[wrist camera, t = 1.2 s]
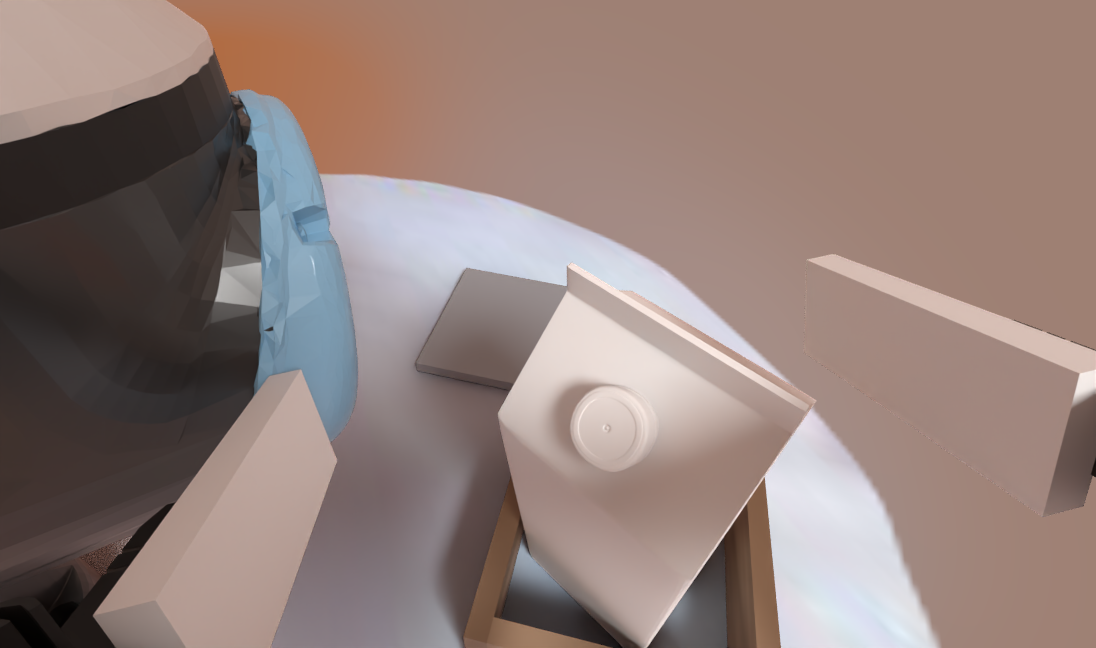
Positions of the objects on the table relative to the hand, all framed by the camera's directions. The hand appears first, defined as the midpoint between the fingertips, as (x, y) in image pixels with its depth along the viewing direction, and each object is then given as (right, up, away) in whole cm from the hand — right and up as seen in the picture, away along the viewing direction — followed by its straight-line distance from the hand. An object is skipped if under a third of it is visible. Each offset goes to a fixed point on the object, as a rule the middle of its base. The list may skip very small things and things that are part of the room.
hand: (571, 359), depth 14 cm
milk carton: (+3, -11, +15) cm, 19 cm away
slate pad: (-3, 0, +26) cm, 27 cm away
